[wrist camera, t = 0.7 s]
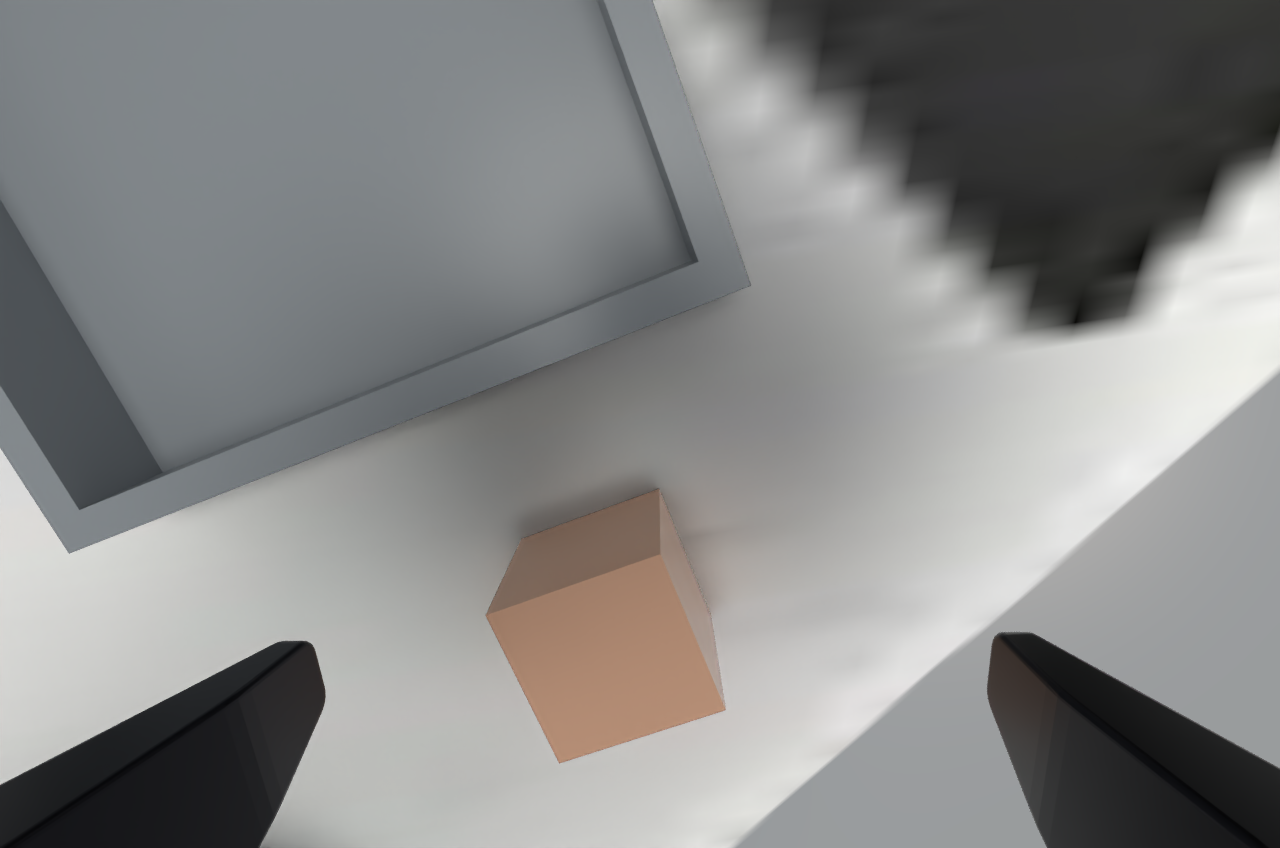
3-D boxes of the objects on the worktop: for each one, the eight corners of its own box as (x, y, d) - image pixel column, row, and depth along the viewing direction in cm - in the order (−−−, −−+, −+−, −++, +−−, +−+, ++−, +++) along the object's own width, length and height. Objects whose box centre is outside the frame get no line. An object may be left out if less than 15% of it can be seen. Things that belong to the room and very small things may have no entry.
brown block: (578, 659, 24) (559, 763, 19) (521, 538, 23) (485, 615, 18) (711, 614, 23) (726, 710, 18) (659, 488, 22) (660, 553, 17)
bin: (170, 501, 22) (68, 553, 19) (-173, -72, 18) (-393, -158, 15) (732, 279, 20) (750, 285, 16) (483, -427, 16) (430, -640, 12)
